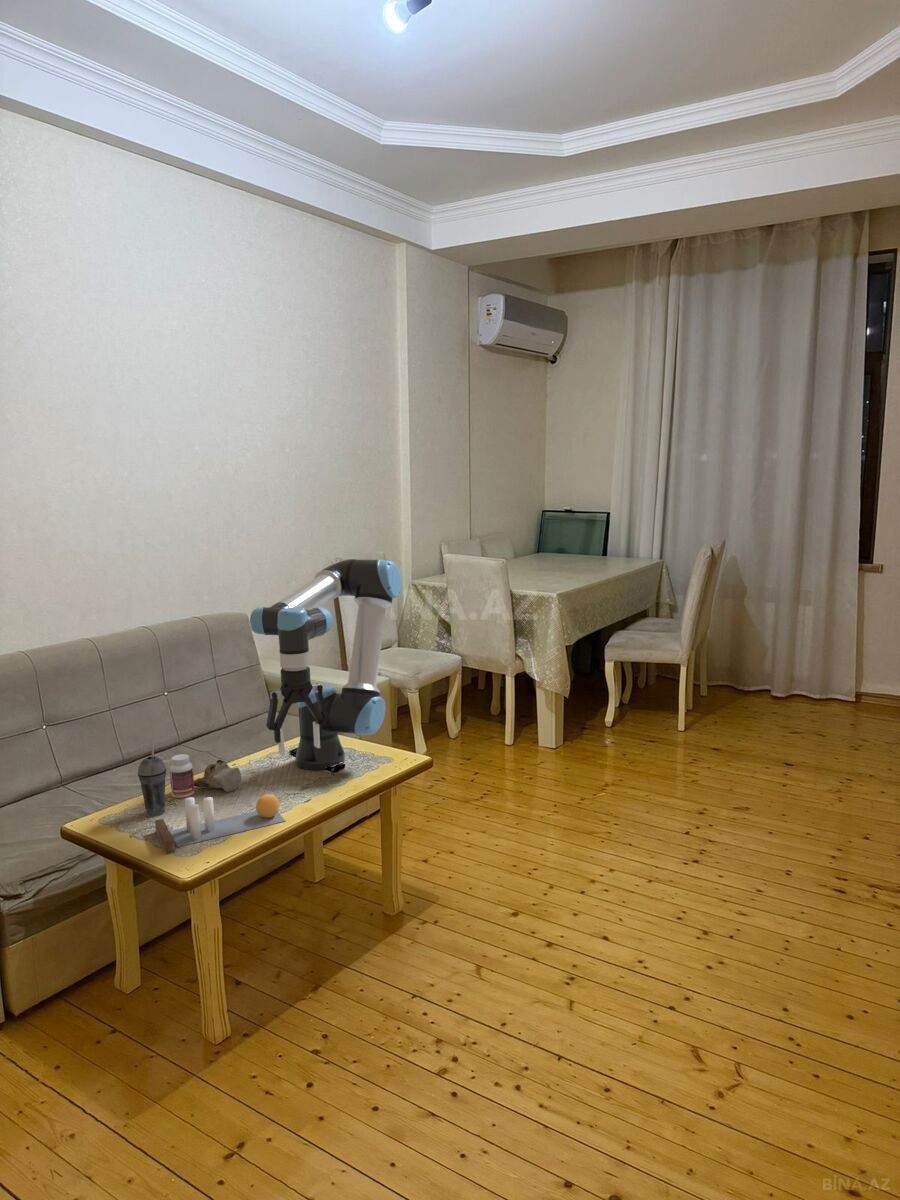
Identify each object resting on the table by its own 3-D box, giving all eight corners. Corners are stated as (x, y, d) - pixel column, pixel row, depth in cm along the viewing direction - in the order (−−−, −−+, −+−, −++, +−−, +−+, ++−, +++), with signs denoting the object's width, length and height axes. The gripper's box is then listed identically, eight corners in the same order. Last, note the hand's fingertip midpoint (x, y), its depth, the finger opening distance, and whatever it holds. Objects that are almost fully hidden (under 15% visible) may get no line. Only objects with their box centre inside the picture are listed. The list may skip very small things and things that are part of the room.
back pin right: (195, 827, 204) (193, 796, 202) (197, 831, 202) (195, 799, 200) (186, 830, 203) (183, 798, 201) (188, 833, 201) (185, 801, 199)
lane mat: (273, 807, 215) (273, 807, 215) (285, 821, 206) (285, 820, 206) (169, 831, 202) (169, 831, 202) (177, 847, 193) (177, 846, 193)
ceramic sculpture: (223, 768, 220) (184, 763, 228) (226, 798, 222) (187, 792, 229) (250, 756, 230) (212, 751, 237) (253, 785, 231) (215, 779, 238)
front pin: (214, 827, 204) (211, 796, 202) (216, 831, 201) (213, 799, 200) (204, 830, 202) (201, 798, 201) (206, 833, 200) (204, 801, 199)
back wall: (164, 829, 203) (163, 818, 203) (174, 851, 191) (173, 840, 191) (155, 831, 202) (154, 820, 202) (166, 853, 190) (165, 842, 190)
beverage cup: (135, 816, 211) (128, 744, 208) (154, 805, 218) (148, 735, 215) (156, 820, 209) (150, 747, 206) (175, 809, 215) (170, 738, 212)
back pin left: (200, 835, 199) (197, 803, 198) (202, 839, 197) (199, 806, 196) (190, 837, 198) (187, 805, 197) (192, 841, 196) (189, 808, 195)
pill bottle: (199, 793, 226) (196, 756, 224) (179, 800, 221) (176, 762, 219) (187, 788, 230) (184, 751, 228) (167, 795, 225) (164, 757, 223)
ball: (276, 810, 213) (274, 789, 212) (283, 818, 208) (281, 796, 207) (253, 815, 210) (252, 794, 209) (260, 824, 205) (259, 801, 204)
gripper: (329, 658, 216) (333, 738, 220) (249, 670, 205) (255, 753, 209) (339, 664, 210) (343, 746, 213) (257, 676, 199) (263, 762, 203)
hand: (299, 750), depth 211 cm, fingers open, 9 cm apart
